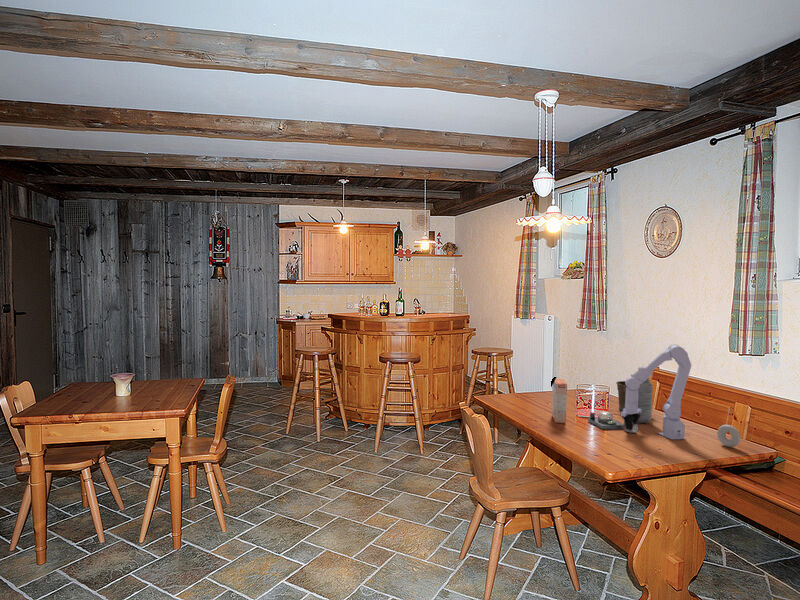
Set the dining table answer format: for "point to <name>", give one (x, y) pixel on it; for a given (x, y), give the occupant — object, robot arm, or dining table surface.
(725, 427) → the donut
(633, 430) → the wing knob
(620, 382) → the plant pot
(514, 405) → the dining table surface
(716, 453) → the dining table surface
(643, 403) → the vase
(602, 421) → the levelling base
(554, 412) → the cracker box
